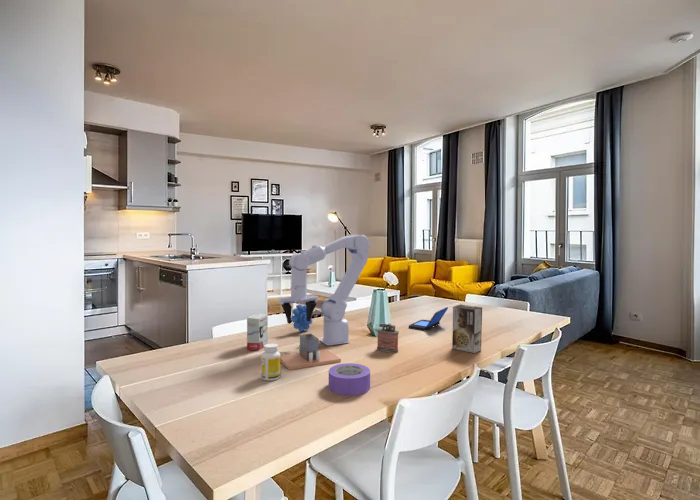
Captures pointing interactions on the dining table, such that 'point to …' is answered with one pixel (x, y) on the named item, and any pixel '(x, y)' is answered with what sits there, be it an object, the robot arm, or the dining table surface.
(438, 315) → the handheld game console
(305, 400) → the dining table surface
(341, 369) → the tape roll
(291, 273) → the robot arm
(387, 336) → the lighter
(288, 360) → the pin tray
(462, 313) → the coffee box
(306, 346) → the grey rectangular block
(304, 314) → the grapes
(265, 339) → the ink box
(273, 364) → the supplement bottle
